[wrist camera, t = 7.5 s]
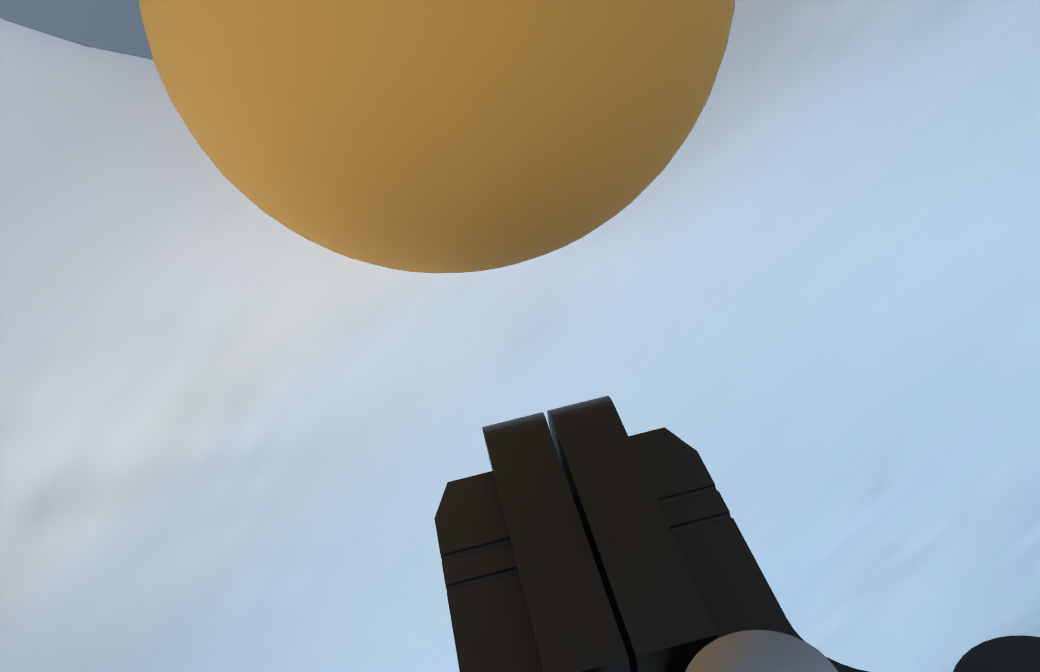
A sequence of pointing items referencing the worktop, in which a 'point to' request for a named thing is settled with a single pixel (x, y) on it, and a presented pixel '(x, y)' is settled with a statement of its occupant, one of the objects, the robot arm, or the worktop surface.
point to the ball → (439, 114)
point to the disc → (84, 22)
